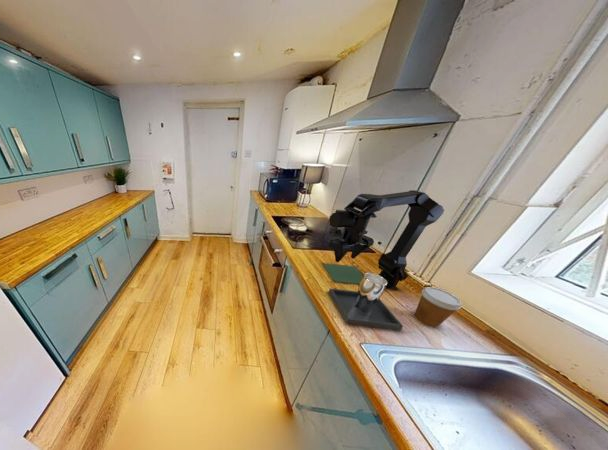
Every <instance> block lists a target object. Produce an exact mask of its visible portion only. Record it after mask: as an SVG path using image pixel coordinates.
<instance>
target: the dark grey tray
mask: <svg viewBox="0 0 608 450" xmlns="http://www.w3.org/2000/svg"><path fill="white" fill-rule="evenodd" d="M327 292H328V295H329V296H330V298H331V300H332V302H333V304H334V306H335V307H336V309H337V312H339V314H340V316H341V317H342V320H343V321H344V323H345V324H346V325H349V326H358V327H366V328H374V329H381V330H388V331H395V332H396V331H397V332H401V331H402V329H403V327H404V325H403V324H402V323H401V322H400V321H399V319H397V318H396V316H395V315H394V314H393V313H392V311H391V310H390V309H389V308H388V307H387V305H385V303H384V302H383V301H382V300H381V298H379V300H378V301H377V302H376V303H375V304H374V305H373V307H372V310H371V314H370V315H362V314H360V313H358V312H356V311H355V310H354V309H353V308H352V303H353V302H354V301H355V299H356V297H357V292H358V290H356V291H355V290H347V289H340V288H339V289H338V288H329V290H328V291H327Z"/></svg>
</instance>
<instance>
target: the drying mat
mask: <svg viewBox="0 0 608 450" xmlns="http://www.w3.org/2000/svg"><path fill="white" fill-rule="evenodd" d="M322 265H323V267H324V268H325V270H326V271H327V273H328V274H329V276H330V278H331V279H332V281H333V282H334V283H344V284H353V285H359V284H360V282H361V280H362V278H363V276H364V274H362V272H361V271H360V270H359V269H358V267H356V266H352V265H342V264H332V263H322Z"/></svg>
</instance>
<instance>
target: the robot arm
mask: <svg viewBox="0 0 608 450" xmlns="http://www.w3.org/2000/svg"><path fill="white" fill-rule="evenodd" d="M404 205H405V206H406V205H407V206H408V207H409V208H410V209H409V211H408V213H407V215H408V222H407V224H406V226H405V227H404V229H403V231H402V232H401V234H400V236H399V237H398V239H397V240H396V242H395V244H394V246H393V247H392V248H391V251H388V252H386V253H384V252H383V253H382V254H381V255H380V256H379V258H378V260H377V261H378V262H377V265H378V269H380V270H381V271H379V272H380V273H378V275H379V276H381V277H383V278H384V279H386V281H387V285H386V288H385V290H392V291H393V290H395V291H399V288H398V287H397V286H398V284H399V282H402V281H405V280H407V278H408V277H409V274H407V272H406V267H407V266H408V265H407V264H408V263H407V256H408V255H409V253H410V251H411V250H412V248H413V247H414V246H415V245H416V242H417V241H418V240H419V238H420V236H421V235H422V234H423V232H424V230H425V229H426V227H428V226H430V225H432V224H435V223H436V222H438V220H439V219H440V218H441V217H442V216H443V214H444V212H445V209H444V206H443V205H441V204H439V203H438V202H436V201H435V200H434V199H432V198H431V197H430V196H429V195H428V194H427V193H426V192H423V191H420V190H415V189H413V190H412V189H411V190H408V191H401V192H394V193H387V194H372V193H360V194H357V196H356V197H355V198H354V199H352V201H350V202H349V203H348V204H347V205H346V206H345V207H344V208H343V209H336V210H335V211H334V212H333V213H331V214H330V216H329V219H328V221H329V225H330V229H329V231H328V232H329V235H331V236H332V237H339V238H335V239H330V240H329V241H328V243H327V246H328V247H329V248H331V249H332V250H333V252H334V260H335V261H334V262H336V263H337V264H338V263H340V261H342V260H343V258H344V257H345V256H346V255H347V254H348V253H349V252H348V251H349V250H350V247H351V246H353V247H352V251H351V255H350V258H351V259H352V260H354V259H355V258H356V257H358V256H359V255H360V254H362V253H363V252H365V251H366V250H367V249H369V248H370V247H372V246H374V244H375V241H374V238H372V237H370V236H368V235H367V234H368V232H369V231H367V228H368V225H369V223H370V220H371V219H372V218H373V219H375V218H377V217H378V216H377V214H375V213H377V212H380V211H382V210H383V209H385V208H388V207H397V206H404Z"/></svg>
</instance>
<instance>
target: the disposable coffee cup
mask: <svg viewBox="0 0 608 450" xmlns="http://www.w3.org/2000/svg"><path fill="white" fill-rule="evenodd" d="M462 308H463V307H462V301H461V300H460V299H459V298H458V297H457V296H456V295H455V294H453V293H451V292H449V291H447V290H444V289H442V288H438V287H434V286H427V287H425V288H423V289H422V290H421V295H420V299H419V302H418V304H417V306H416V308H415V311H414V315H413V316H414V317H415V319H416V320H417V321H418V322H420V323H421V324H423V325H425V326H427V327H430V328H438V327H439V326H440V325H441V324H443V323H444V322H445V321H446V320H447V319H448V318H450V316H452V315H453V314H454V313H455V312H456V311H458V310H461V309H462Z"/></svg>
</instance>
